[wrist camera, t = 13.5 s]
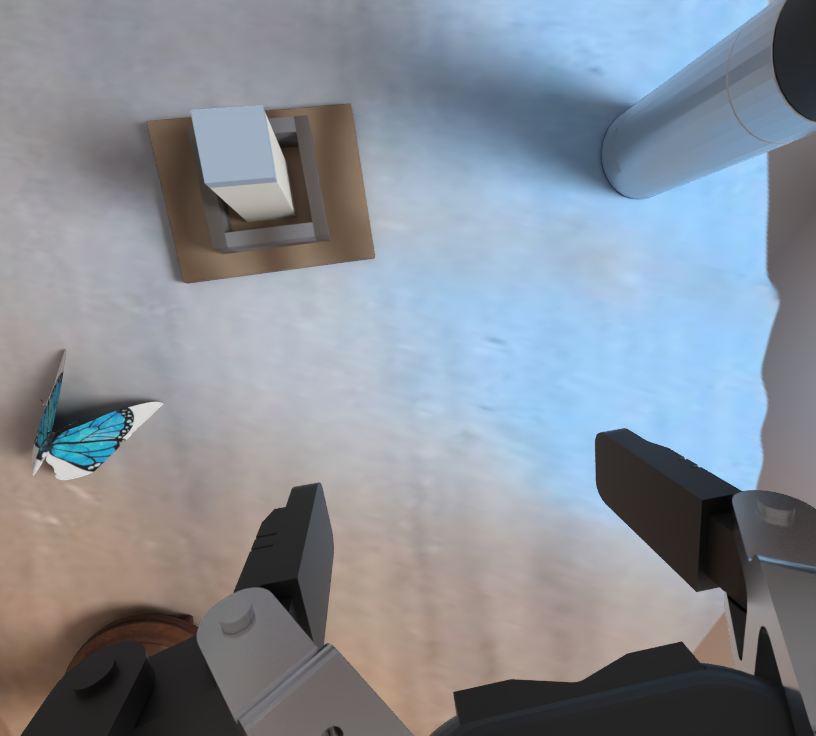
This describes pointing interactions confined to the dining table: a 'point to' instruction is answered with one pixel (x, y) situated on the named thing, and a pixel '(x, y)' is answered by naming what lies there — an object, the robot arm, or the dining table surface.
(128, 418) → the decorative butterfly
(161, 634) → the scroll
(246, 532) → the dining table surface
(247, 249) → the cradle
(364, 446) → the dining table surface
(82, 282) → the dining table surface
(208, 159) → the block
